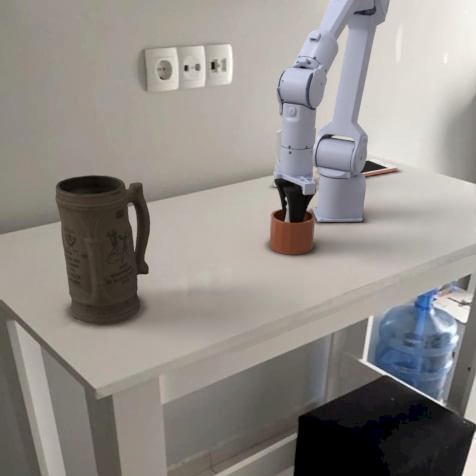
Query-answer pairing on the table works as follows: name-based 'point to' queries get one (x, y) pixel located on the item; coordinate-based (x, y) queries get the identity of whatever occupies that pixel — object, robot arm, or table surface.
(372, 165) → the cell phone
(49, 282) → the table surface
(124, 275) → the beer stein
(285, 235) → the cup
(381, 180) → the table surface
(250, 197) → the table surface
